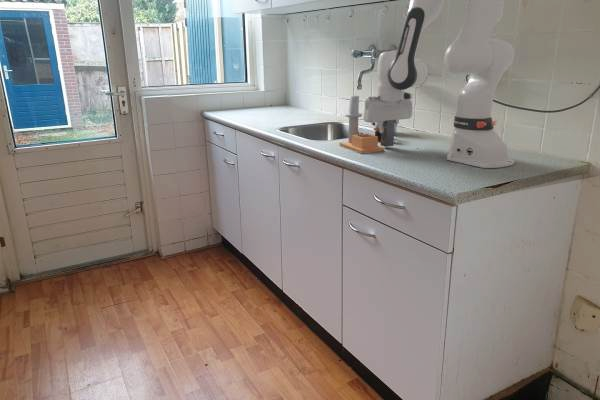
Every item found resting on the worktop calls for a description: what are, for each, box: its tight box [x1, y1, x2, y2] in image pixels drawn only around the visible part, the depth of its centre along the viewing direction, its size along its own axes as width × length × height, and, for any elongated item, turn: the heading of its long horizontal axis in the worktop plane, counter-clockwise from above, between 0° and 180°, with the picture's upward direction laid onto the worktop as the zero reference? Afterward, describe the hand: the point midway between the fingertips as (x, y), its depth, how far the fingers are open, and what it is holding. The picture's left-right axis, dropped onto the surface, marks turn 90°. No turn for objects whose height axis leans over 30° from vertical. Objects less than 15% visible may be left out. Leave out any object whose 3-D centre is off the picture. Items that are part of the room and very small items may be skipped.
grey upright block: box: [380, 120, 395, 148], centre depth 171 cm, size 4×4×10 cm
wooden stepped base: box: [339, 95, 385, 154], centre depth 170 cm, size 17×10×19 cm, turn 24°
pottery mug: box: [373, 125, 381, 143], centre depth 185 cm, size 12×10×8 cm
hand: (387, 132), depth 171 cm, fingers closed on grey upright block, 3 cm apart
